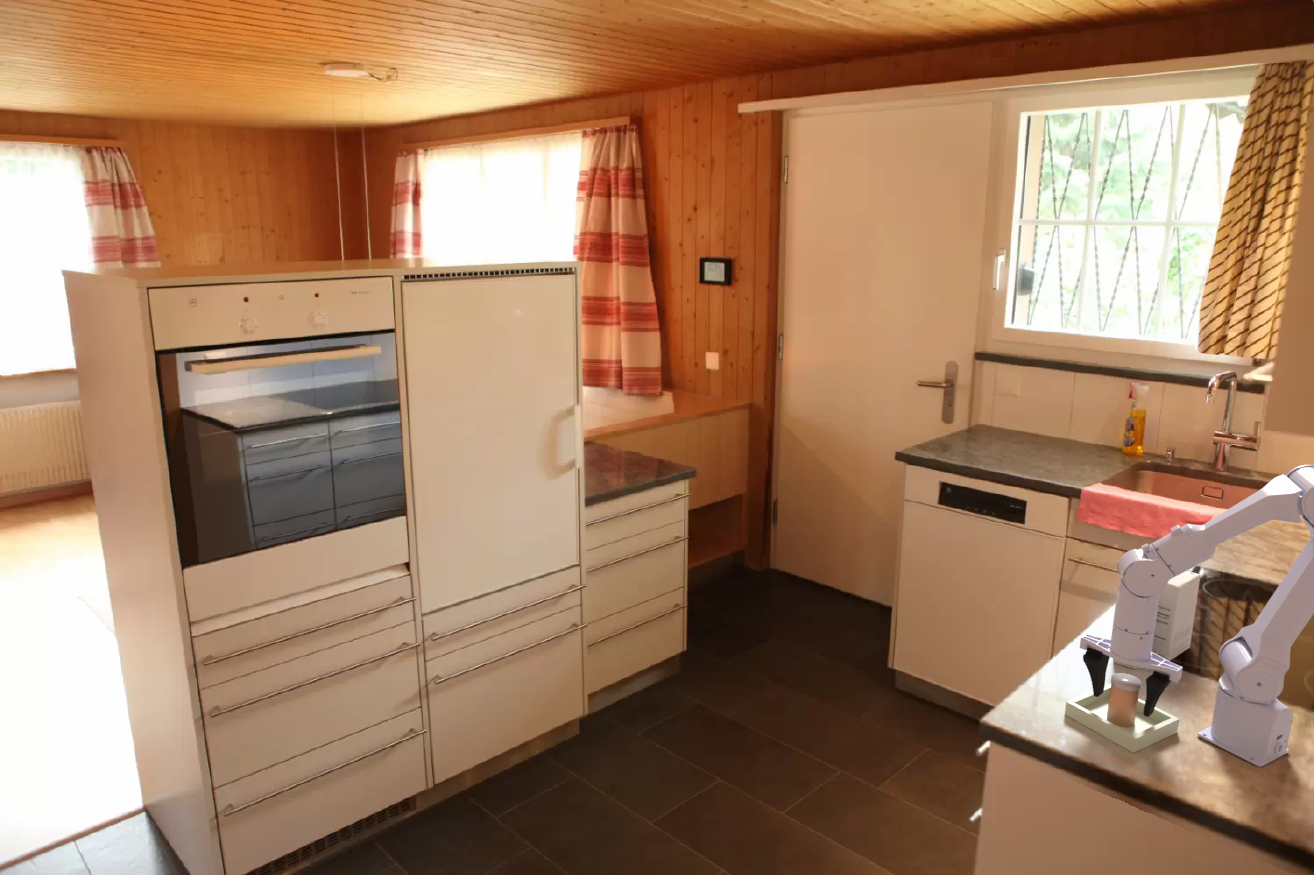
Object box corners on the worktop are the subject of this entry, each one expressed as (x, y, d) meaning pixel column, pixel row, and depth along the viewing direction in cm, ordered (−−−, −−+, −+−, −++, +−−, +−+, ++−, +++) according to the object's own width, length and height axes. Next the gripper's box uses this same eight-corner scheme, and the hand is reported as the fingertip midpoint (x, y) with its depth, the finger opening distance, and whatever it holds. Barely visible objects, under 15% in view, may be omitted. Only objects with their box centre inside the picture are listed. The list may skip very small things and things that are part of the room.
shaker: (1139, 720, 142) (1145, 680, 140) (1128, 730, 139) (1134, 689, 138) (1112, 709, 145) (1118, 670, 143) (1101, 719, 143) (1106, 679, 141)
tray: (1177, 732, 140) (1179, 718, 139) (1133, 752, 135) (1135, 739, 134) (1107, 696, 150) (1109, 683, 150) (1064, 714, 145) (1066, 701, 144)
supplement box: (1142, 630, 173) (1152, 558, 169) (1190, 648, 166) (1202, 574, 162) (1118, 644, 168) (1128, 570, 164) (1167, 663, 161) (1179, 586, 157)
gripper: (1194, 634, 135) (1181, 713, 139) (1097, 603, 146) (1087, 677, 149) (1177, 649, 131) (1164, 730, 134) (1078, 616, 141) (1068, 692, 145)
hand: (1122, 703), depth 142 cm, fingers open, 7 cm apart
